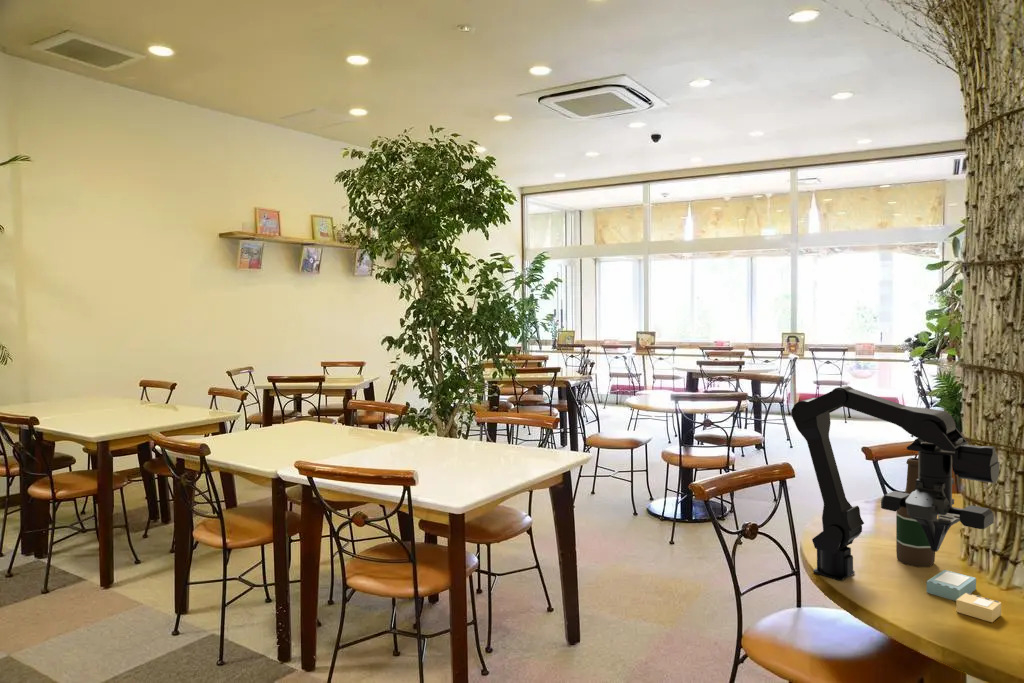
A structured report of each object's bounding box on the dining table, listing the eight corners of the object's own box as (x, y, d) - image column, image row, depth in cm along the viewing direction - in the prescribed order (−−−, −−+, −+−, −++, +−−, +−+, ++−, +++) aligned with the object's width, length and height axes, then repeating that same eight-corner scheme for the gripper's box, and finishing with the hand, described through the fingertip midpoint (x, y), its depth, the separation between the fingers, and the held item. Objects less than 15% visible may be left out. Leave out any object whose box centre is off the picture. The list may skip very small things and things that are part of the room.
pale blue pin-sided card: (926, 592, 144) (926, 580, 143) (944, 580, 149) (944, 569, 149) (959, 601, 139) (959, 589, 139) (975, 589, 144) (976, 577, 144)
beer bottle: (912, 553, 165) (912, 453, 163) (943, 564, 158) (943, 460, 156) (888, 558, 162) (888, 457, 161) (918, 570, 155) (919, 464, 153)
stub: (956, 611, 134) (956, 599, 134) (965, 604, 137) (965, 592, 137) (992, 622, 130) (992, 609, 130) (1001, 614, 133) (1001, 601, 132)
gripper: (868, 473, 140) (868, 548, 141) (972, 491, 126) (972, 575, 127) (893, 464, 147) (893, 535, 148) (995, 480, 133) (994, 559, 134)
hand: (935, 550), depth 139 cm, fingers closed
